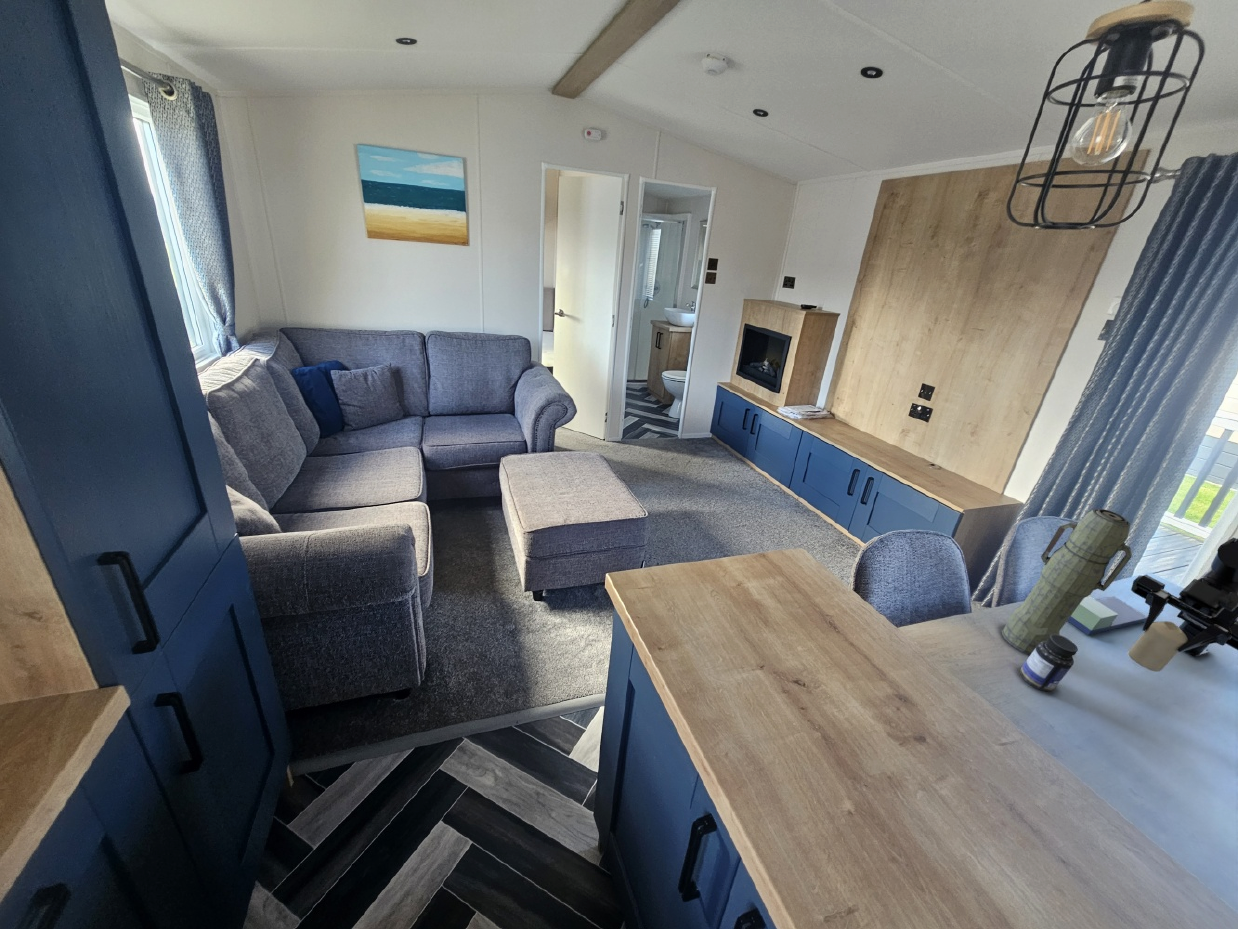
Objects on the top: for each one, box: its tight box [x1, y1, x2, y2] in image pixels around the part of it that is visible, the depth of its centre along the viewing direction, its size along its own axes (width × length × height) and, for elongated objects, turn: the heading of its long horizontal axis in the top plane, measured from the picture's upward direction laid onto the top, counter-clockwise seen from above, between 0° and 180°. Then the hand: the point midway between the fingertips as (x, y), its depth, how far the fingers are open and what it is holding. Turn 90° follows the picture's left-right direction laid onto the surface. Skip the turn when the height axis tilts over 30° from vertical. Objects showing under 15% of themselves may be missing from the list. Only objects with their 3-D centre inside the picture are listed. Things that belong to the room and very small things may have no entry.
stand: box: [1067, 595, 1148, 636], centre depth 130 cm, size 24×8×6 cm, turn 110°
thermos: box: [1001, 508, 1133, 656], centre depth 110 cm, size 9×12×35 cm
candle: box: [1127, 620, 1188, 672], centre depth 106 cm, size 6×6×10 cm
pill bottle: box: [1019, 634, 1079, 692], centre depth 105 cm, size 6×6×11 cm
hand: (1160, 640), depth 104 cm, fingers closed on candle, 5 cm apart
